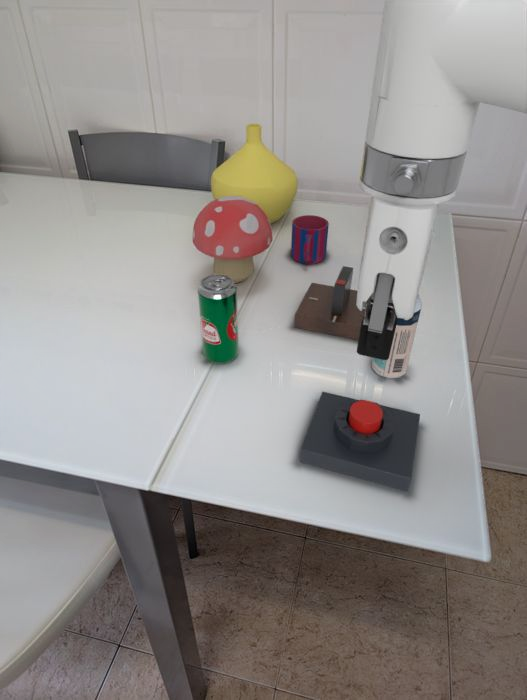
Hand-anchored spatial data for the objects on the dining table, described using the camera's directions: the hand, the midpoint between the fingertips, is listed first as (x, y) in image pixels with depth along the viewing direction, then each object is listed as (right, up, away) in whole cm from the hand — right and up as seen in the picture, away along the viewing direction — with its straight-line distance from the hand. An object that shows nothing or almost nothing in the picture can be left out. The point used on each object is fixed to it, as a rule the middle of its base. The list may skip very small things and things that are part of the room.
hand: (373, 352), depth 50 cm
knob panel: (+1, +5, +29) cm, 29 cm away
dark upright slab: (+1, +7, +27) cm, 28 cm away
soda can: (-17, -1, +21) cm, 28 cm away
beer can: (+6, -3, +19) cm, 20 cm away
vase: (-13, +29, +59) cm, 68 cm away
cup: (-3, +17, +44) cm, 48 cm away
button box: (0, -11, +8) cm, 14 cm away
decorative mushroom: (-16, +12, +38) cm, 43 cm away
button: (0, -8, +6) cm, 10 cm away
